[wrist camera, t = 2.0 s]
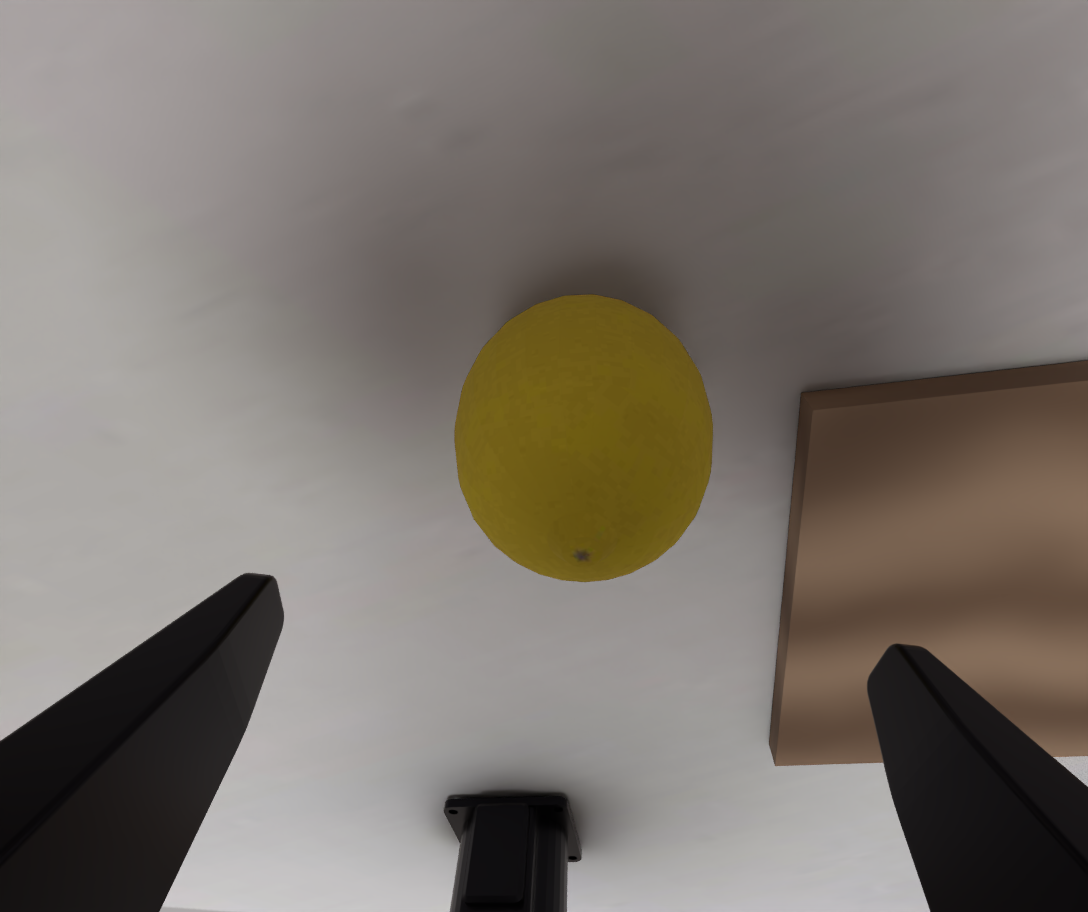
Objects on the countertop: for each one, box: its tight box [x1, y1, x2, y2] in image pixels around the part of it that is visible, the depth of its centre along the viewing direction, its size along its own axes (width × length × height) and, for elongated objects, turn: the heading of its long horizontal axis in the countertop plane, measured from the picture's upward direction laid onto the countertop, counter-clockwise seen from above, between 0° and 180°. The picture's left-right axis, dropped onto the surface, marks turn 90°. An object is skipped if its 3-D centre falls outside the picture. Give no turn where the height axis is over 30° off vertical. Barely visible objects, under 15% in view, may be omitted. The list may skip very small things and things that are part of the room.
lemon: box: [455, 294, 713, 582], centre depth 13 cm, size 6×6×8 cm
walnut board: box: [769, 361, 1088, 766], centre depth 20 cm, size 18×18×1 cm
